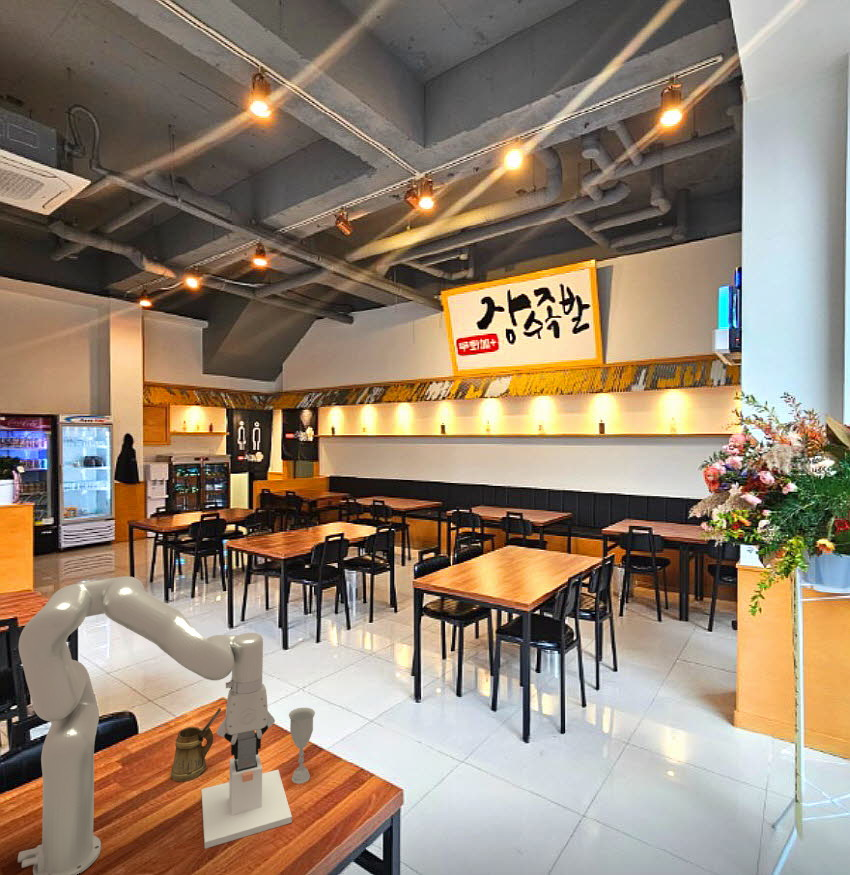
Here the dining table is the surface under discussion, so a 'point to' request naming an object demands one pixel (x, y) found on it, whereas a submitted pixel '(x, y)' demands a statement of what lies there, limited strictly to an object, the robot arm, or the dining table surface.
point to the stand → (244, 805)
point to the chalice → (301, 738)
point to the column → (246, 751)
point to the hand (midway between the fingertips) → (245, 753)
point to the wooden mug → (192, 751)
